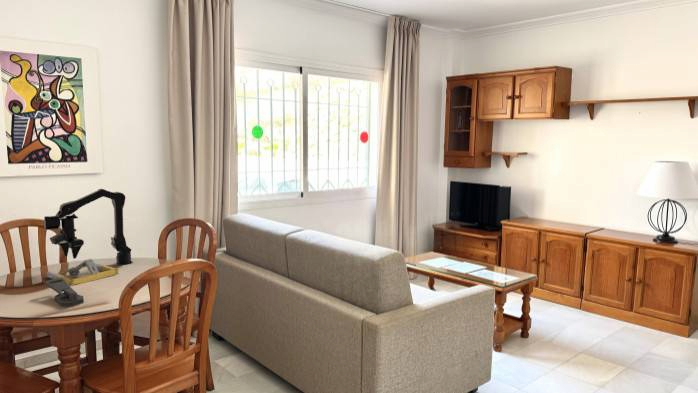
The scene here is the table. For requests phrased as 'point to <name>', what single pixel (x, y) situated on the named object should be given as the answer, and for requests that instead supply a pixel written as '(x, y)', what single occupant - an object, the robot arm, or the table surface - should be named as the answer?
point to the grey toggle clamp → (68, 296)
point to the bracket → (84, 264)
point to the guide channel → (108, 272)
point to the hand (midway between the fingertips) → (70, 257)
